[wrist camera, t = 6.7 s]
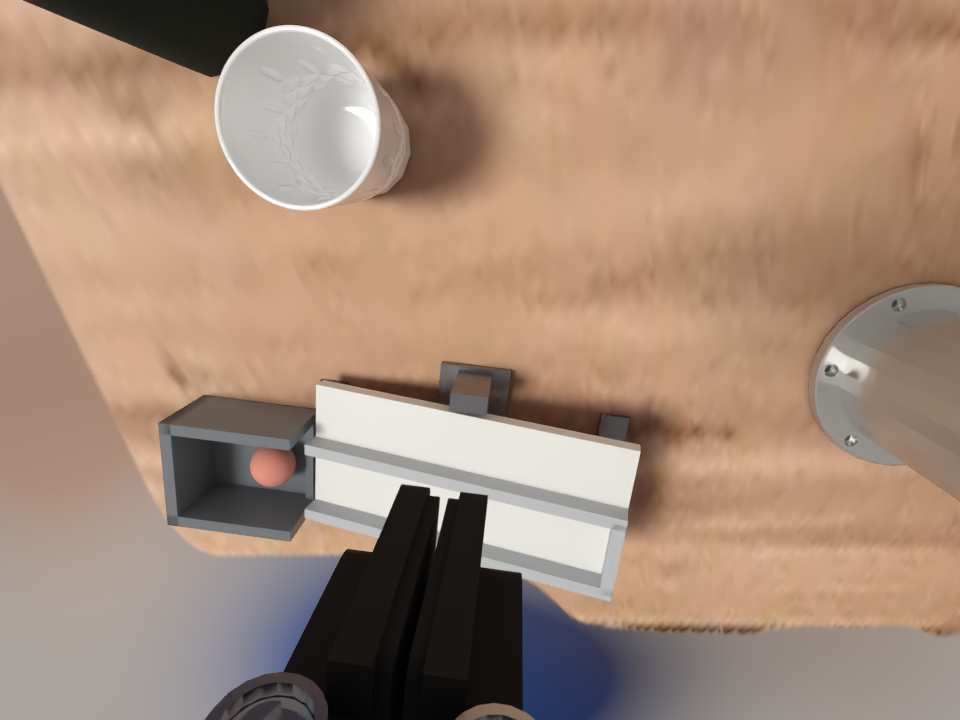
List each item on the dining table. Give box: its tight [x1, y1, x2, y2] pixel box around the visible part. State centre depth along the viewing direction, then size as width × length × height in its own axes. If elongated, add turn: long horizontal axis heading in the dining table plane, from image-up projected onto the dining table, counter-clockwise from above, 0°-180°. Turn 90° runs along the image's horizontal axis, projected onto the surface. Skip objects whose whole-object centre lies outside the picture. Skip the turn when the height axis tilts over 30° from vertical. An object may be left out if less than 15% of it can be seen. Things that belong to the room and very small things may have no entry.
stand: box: [320, 362, 630, 441], centre depth 37 cm, size 23×14×5 cm, turn 84°
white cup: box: [214, 25, 411, 211], centre depth 29 cm, size 8×8×10 cm
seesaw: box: [305, 380, 641, 602], centre depth 35 cm, size 22×10×2 cm, turn 84°
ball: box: [250, 447, 296, 487], centre depth 39 cm, size 3×3×3 cm
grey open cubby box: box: [158, 395, 316, 541], centre depth 38 cm, size 9×8×5 cm
